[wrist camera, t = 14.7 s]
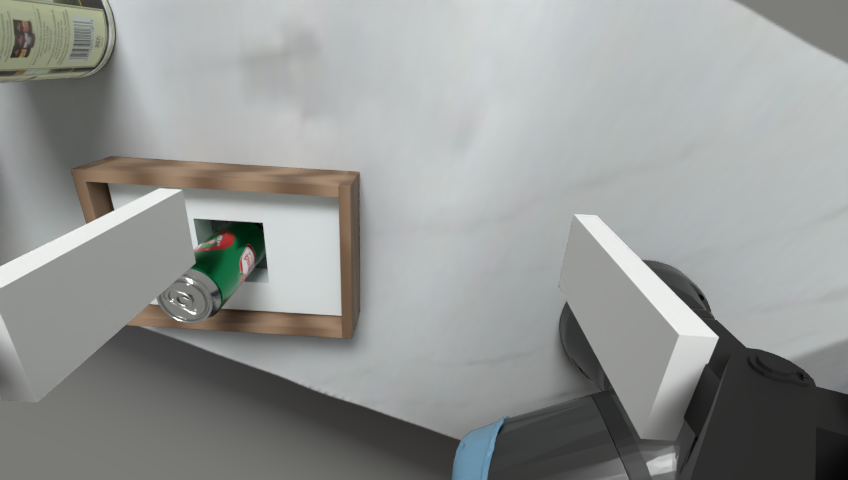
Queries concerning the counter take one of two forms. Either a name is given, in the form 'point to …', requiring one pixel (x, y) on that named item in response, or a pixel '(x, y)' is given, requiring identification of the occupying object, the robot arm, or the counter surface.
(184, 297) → the soda can
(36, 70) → the coffee can
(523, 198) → the counter surface
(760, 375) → the robot arm
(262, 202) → the socket plate
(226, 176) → the open box
